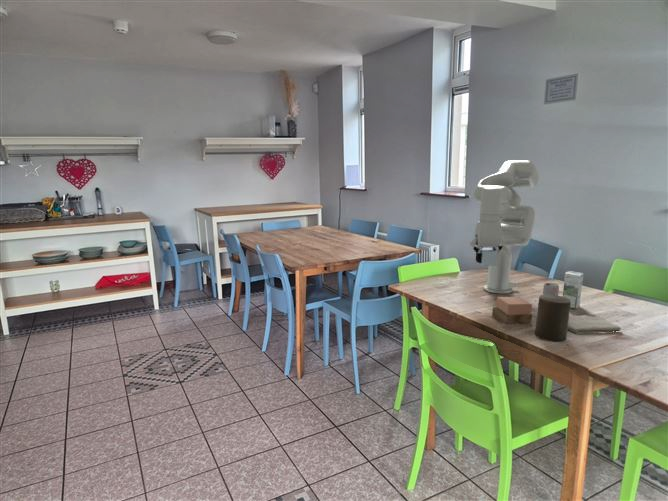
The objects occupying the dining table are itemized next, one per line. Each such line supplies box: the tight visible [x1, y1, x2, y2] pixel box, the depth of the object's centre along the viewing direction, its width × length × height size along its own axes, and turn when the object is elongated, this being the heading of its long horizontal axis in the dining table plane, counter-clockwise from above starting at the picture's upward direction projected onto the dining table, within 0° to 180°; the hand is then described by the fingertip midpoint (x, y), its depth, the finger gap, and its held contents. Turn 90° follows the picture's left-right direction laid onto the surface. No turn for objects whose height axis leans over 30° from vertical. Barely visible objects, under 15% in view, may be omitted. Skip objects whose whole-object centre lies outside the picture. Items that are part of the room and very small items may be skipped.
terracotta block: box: [495, 296, 533, 315], centre depth 161 cm, size 9×9×4 cm
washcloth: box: [567, 314, 622, 335], centre depth 154 cm, size 12×18×3 cm, turn 96°
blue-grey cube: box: [475, 247, 498, 267], centre depth 174 cm, size 6×6×6 cm
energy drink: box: [542, 282, 560, 296], centre depth 167 cm, size 5×5×12 cm
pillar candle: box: [534, 293, 571, 343], centre depth 145 cm, size 10×10×15 cm
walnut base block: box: [492, 305, 533, 326], centre depth 162 cm, size 10×10×4 cm
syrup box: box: [561, 270, 584, 310], centre depth 176 cm, size 6×6×14 cm
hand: (486, 261), depth 175 cm, fingers closed on blue-grey cube, 6 cm apart
